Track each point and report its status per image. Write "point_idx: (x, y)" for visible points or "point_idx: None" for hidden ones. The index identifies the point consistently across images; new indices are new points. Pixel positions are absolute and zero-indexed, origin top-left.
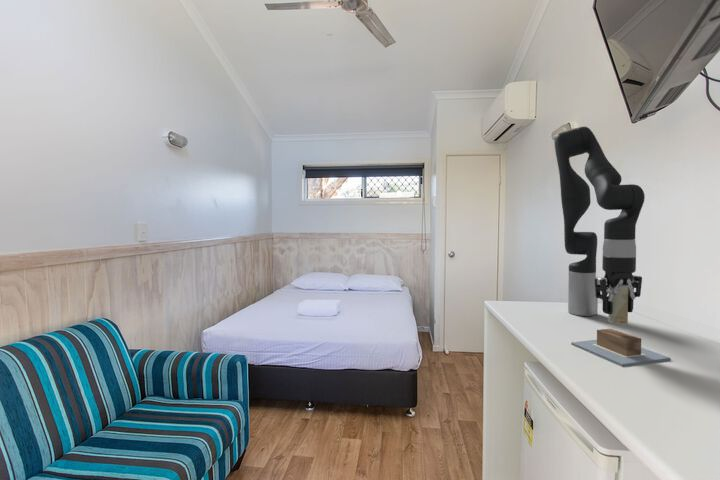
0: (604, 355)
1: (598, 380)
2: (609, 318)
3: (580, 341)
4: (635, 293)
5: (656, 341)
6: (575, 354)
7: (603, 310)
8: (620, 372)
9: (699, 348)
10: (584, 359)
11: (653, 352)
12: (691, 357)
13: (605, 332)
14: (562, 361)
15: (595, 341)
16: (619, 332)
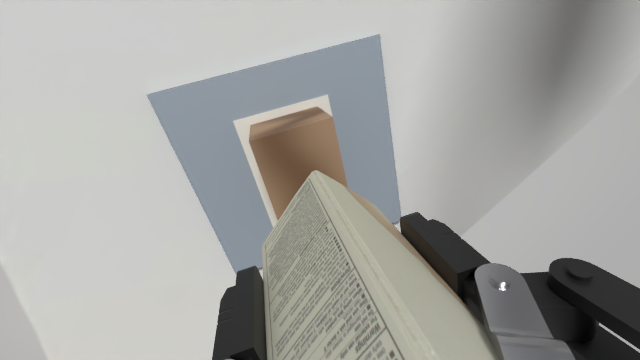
0: (220, 224)
1: (126, 350)
2: (263, 263)
3: (198, 83)
4: (563, 339)
5: (504, 63)
6: (126, 201)
7: (226, 297)
8: (210, 303)
9: (551, 128)
10: (143, 239)
11: (391, 186)
12: (464, 194)
13: (267, 178)
14: (52, 263)
15: (268, 82)
16: (331, 174)
